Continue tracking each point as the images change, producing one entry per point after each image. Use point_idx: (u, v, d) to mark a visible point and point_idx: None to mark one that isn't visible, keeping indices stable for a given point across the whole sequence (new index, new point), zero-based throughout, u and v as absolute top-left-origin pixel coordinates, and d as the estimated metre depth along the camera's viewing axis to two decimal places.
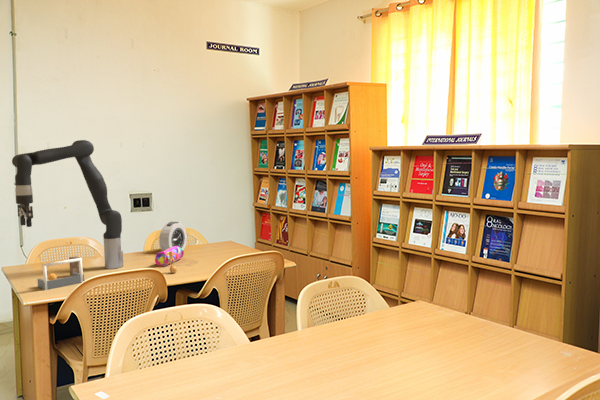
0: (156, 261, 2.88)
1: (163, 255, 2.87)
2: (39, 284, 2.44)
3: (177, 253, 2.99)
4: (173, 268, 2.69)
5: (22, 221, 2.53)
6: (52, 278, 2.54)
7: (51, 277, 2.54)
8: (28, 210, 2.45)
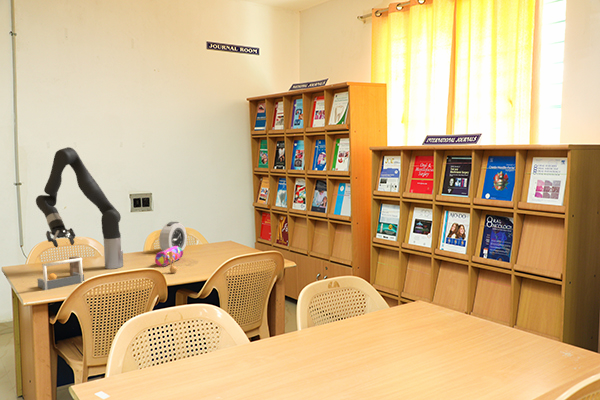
0: (156, 261, 2.88)
1: (163, 255, 2.87)
2: (39, 284, 2.44)
3: (177, 253, 2.99)
4: (173, 268, 2.69)
5: (70, 241, 2.78)
6: (52, 278, 2.54)
7: (51, 277, 2.54)
8: (46, 235, 2.73)
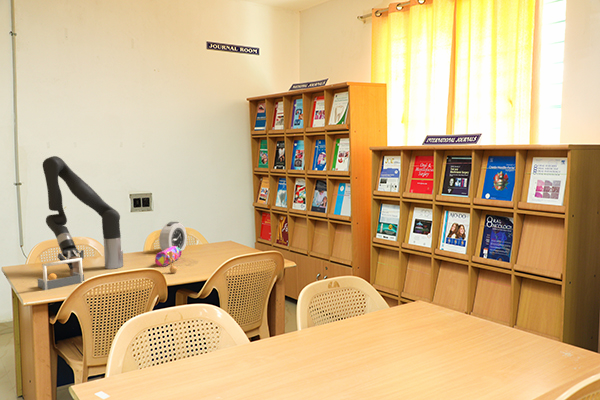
0: (156, 261, 2.87)
1: (163, 255, 2.87)
2: (39, 284, 2.44)
3: (176, 253, 2.99)
4: (173, 268, 2.69)
5: None
6: (52, 278, 2.54)
7: (51, 277, 2.54)
8: (59, 258, 2.65)
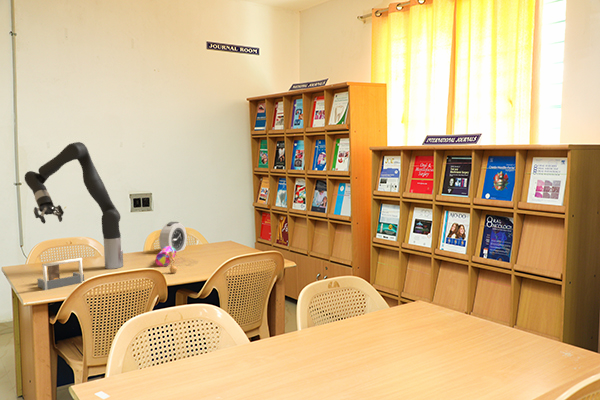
0: (157, 261, 2.87)
1: None
2: (39, 284, 2.44)
3: None
4: (173, 268, 2.69)
5: (58, 218, 2.75)
6: None
7: None
8: (34, 212, 2.70)
